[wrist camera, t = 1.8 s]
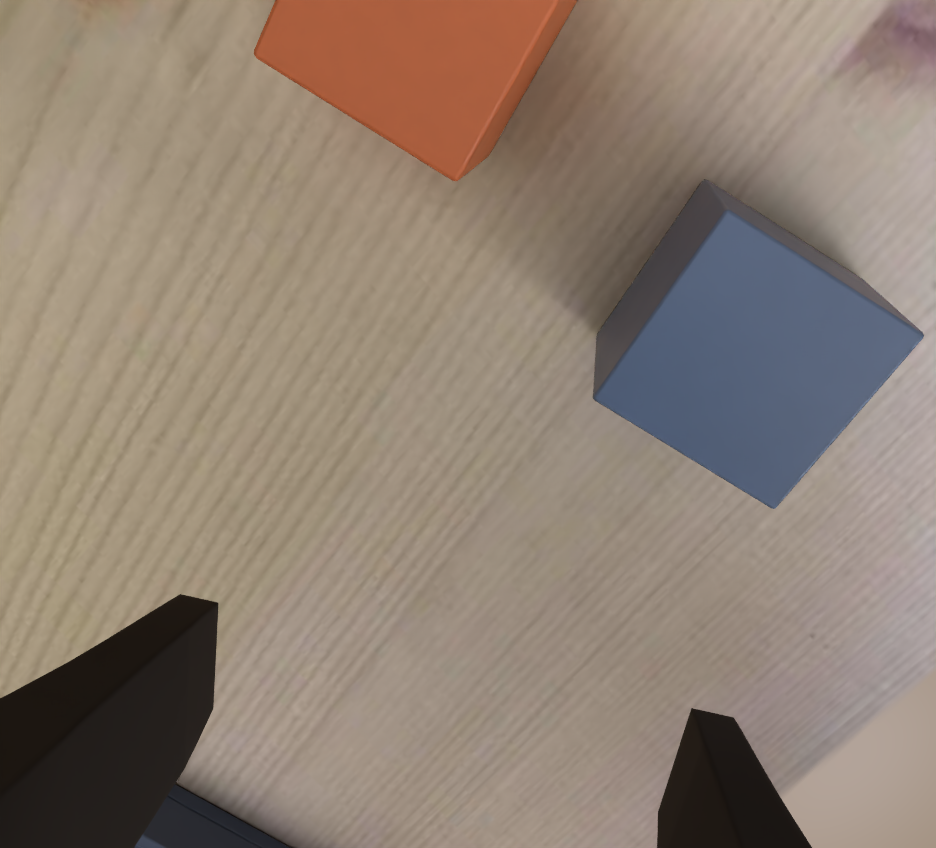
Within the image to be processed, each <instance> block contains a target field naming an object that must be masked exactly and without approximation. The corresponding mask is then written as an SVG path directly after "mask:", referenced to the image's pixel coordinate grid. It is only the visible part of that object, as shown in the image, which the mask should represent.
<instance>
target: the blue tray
mask: <svg viewBox="0 0 936 848" xmlns="http://www.w3.org/2000/svg"><path fill="white" fill-rule="evenodd" d="M134 848H290V847H288V846H286V845H284V844H282V843H281V842H279V841H277V840H275V839H273V838H272V837H270V836H268V835H266V834H264V833H263V832H261V831H259V830H257V829H255V828H254V827H252V826H250V825H248V824H246V823H244V822H243V821H241V820H239V819H237V818H235V817H234V816H232V815H230V814H228V813H226V812H225V811H223V810H221V809H219V808H217V807H215V806H214V805H212V804H210V803H208V802H206V801H205V800H203V799H201V798H199V797H197V796H196V795H194V794H192V793H190V792H188V791H186V790H185V789H183V788H181V787H179V786H177V785H176V784H175V785H174V786H173V788H172V789H171V791H170V792H169V794H168V796H167V797H166V799H165V800H164V802H163V803H162V805H161V807H160V808H159V810H158V811H157V813H156V815H155V816H154V818H153V819H152V821H151V822H150V824H149V825H148V827H147V828H146V830H145V832H144V833H143V835H142V836H141V838H140V839H139V841H138V842H137V844H136V846H135V847H134Z"/></svg>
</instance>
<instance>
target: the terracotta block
mask: <svg viewBox="0 0 936 848" xmlns="http://www.w3.org/2000/svg"><path fill="white" fill-rule="evenodd" d="M576 2H577V0H276V1H275V3H274V5H273V8H272V10H271V12H270V15H269V17H268V19H267V21H266V24H265V26H264V28H263V31H262V33H261V35H260V38H259V40H258V42H257V45H256V47H255V49H254V55H255V56H256V58H257V59H259V60H260V61H262V62H263V63H265V64H267V65H268V66H270V67H271V68H273V69H275V70H276V71H278V72H279V73H281V74H283V75H284V76H286V77H287V78H289V79H291V80H292V81H294V82H295V83H297V84H299V85H300V86H302V87H303V88H305V89H307V90H308V91H310V92H311V93H313V94H315V95H316V96H318V97H319V98H321V99H323V100H324V101H326V102H327V103H329V104H331V105H332V106H334V107H335V108H337V109H339V110H340V111H342V112H343V113H345V114H347V115H348V116H350V117H351V118H353V119H355V120H356V121H358V122H359V123H361V124H363V125H364V126H366V127H367V128H369V129H371V130H372V131H374V132H375V133H377V134H379V135H380V136H382V137H383V138H385V139H387V140H388V141H390V142H392V143H393V144H395V145H396V146H398V147H400V148H401V149H403V150H404V151H406V152H408V153H409V154H411V155H412V156H414V157H416V158H417V159H419V160H420V161H422V162H424V163H425V164H427V165H428V166H430V167H432V168H433V169H435V170H436V171H438V172H440V173H441V174H443V175H444V176H446V177H448V178H449V179H451V180H452V181H458V180H459V179H461V178H462V177H463V176H464V175H466V174H467V173H468V172H469V171H471V170H472V169H473V168H474V167H475V166H477V165H478V164H479V163H480V162H482V161H483V160H484V159H485V158H487V157H488V156H489V155H490V153H491V151H492V149H493V148H494V146H495V144H496V142H497V141H498V139H499V137H500V135H501V134H502V132H503V130H504V128H505V127H506V125H507V123H508V121H509V120H510V118H511V116H512V114H513V113H514V111H515V109H516V107H517V106H518V104H519V102H520V100H521V99H522V97H523V95H524V93H525V91H526V90H527V88H528V86H529V84H530V83H531V81H532V79H533V77H534V76H535V74H536V72H537V70H538V69H539V67H540V65H541V63H542V62H543V60H544V58H545V56H546V55H547V53H548V51H549V49H550V48H551V46H552V44H553V42H554V41H555V39H556V37H557V35H558V34H559V32H560V30H561V28H562V27H563V25H564V23H565V21H566V20H567V18H568V16H569V14H570V13H571V11H572V9H573V7H574V6H575V4H576Z"/></svg>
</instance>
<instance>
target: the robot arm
mask: <svg viewBox="0 0 936 848" xmlns="http://www.w3.org/2000/svg"><path fill="white" fill-rule="evenodd" d="M217 621H218V603H217V602H213V601H208V600H204V599H199V598H195V597H190V596H186V595H181V594H180V595H178V596H177V597H175V598H173V599H172V600H170V601H168V602H167V603H165V604H163V605H162V606H160V607H158V608H157V609H155V610H154V611H152V612H150V613H149V614H147V615H145V616H144V617H142V618H141V619H139V620H137V621H136V622H134V623H132V624H131V625H129V626H128V627H126V628H124V629H123V630H121V631H120V632H118V633H116V634H115V635H113V636H111V637H110V638H108V639H106V640H105V641H103V642H102V643H100V644H98V645H96V646H95V647H93V648H91V649H90V650H88V651H86V652H85V653H83V654H81V655H80V656H78V657H76V658H74V659H73V660H71V661H69V662H68V663H66V664H64V665H62V666H60V667H59V668H57V669H55V670H53V671H51V672H49V673H47V674H46V675H44V676H42V677H40V678H38V679H36V680H34V681H32V682H31V683H29V684H27V685H25V686H23V687H21V688H19V689H18V690H16V691H14V692H12V693H10V694H8V695H6V696H4V697H2V698H0V848H134V847H135V846H136V844H137V842H138V841H139V839H140V838H141V836H142V835H143V833H144V832H145V830H146V828H147V827H148V825H149V824H150V822H151V821H152V819H153V818H154V816H155V815H156V813H157V811H158V810H159V808H160V807H161V805H162V803H163V802H164V800H165V799H166V797H167V796H168V794H169V792H170V791H171V789H172V788H173V786H174V785H175V783H176V781H177V780H178V778H179V777H180V775H181V773H182V772H183V770H184V768H185V767H186V764H187V762H188V760H189V758H190V756H191V754H192V752H193V750H194V748H195V746H196V744H197V742H198V740H199V738H200V736H201V734H202V731H203V729H204V727H205V725H206V723H207V721H208V719H209V716H210V714H211V712H212V710H213V702H214V682H215V662H216V641H217ZM657 848H812V847H811V845H810V844H809V842H808V841H807V839H806V837H805V836H804V834H803V833H802V831H801V830H800V828H799V827H798V825H797V824H796V822H795V820H794V819H793V817H792V815H791V814H790V812H789V811H788V809H787V807H786V806H785V804H784V803H783V801H782V799H781V798H780V796H779V794H778V793H777V791H776V789H775V788H774V786H773V784H772V782H771V781H770V779H769V777H768V776H767V774H766V772H765V771H764V769H763V767H762V765H761V764H760V762H759V760H758V758H757V757H756V755H755V753H754V751H753V750H752V748H751V746H750V744H749V743H748V741H747V739H746V737H745V736H744V734H743V732H742V730H741V729H740V727H739V725H738V724H737V722H736V721H735V719H734V718H733V717H729V716H724V715H720V714H715V713H711V712H706V711H702V710H697V709H693V708H691V712H690V715H689V718H688V721H687V724H686V727H685V730H684V733H683V736H682V739H681V743H680V746H679V749H678V752H677V755H676V758H675V761H674V764H673V767H672V771H671V774H670V777H669V780H668V783H667V786H666V789H665V792H664V795H663V798H662V802H661V805H660V808H659V811H658V838H657Z"/></svg>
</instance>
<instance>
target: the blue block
mask: <svg viewBox="0 0 936 848" xmlns="http://www.w3.org/2000/svg"><path fill="white" fill-rule="evenodd" d="M923 337H924V334H923V333H922V332H921V331H920V330H919V329H918V328H917V327H916V326H915V325H914V324H912V323H911V322H910V321H909V320H908V319H907V318H906V317H905V316H903V315H902V314H901V313H900V312H899V311H898V310H897V309H896V308H894V307H893V306H892V305H891V304H890V303H889V302H888V301H887V300H885V299H884V298H883V297H882V296H881V295H880V294H879V293H878V292H876V291H875V290H874V289H873V288H872V287H871V286H870V285H869V284H868V283H866V282H865V281H864V280H863V279H861V278H860V277H858V276H857V275H855V274H854V273H852V272H850V271H849V270H847V269H846V268H844V267H843V266H841V265H840V264H838V263H836V262H835V261H833V260H832V259H830V258H829V257H827V256H825V255H824V254H822V253H821V252H819V251H818V250H816V249H815V248H813V247H811V246H810V245H808V244H807V243H805V242H804V241H802V240H800V239H799V238H797V237H796V236H794V235H793V234H791V233H790V232H788V231H786V230H785V229H783V228H782V227H780V226H779V225H777V224H775V223H774V222H772V221H771V220H769V219H768V218H766V217H765V216H763V215H761V214H760V213H758V212H757V211H755V210H754V209H752V208H750V207H749V206H747V205H746V204H744V203H743V202H741V201H740V200H738V199H736V198H735V197H733V196H732V195H730V194H729V193H727V192H725V191H724V190H722V189H721V188H719V187H718V186H716V185H715V184H713V183H711V182H710V181H708V180H705V179H704V180H703V181H702V182H701V183H700V185H699V186H698V188H697V189H696V191H695V192H694V194H693V195H692V197H691V198H690V199H689V201H688V202H687V204H686V205H685V207H684V208H683V210H682V211H681V213H680V214H679V216H678V217H677V218H676V220H675V221H674V223H673V224H672V226H671V227H670V229H669V230H668V232H667V233H666V235H665V236H664V237H663V239H662V240H661V242H660V243H659V245H658V246H657V248H656V249H655V251H654V252H653V253H652V255H651V256H650V258H649V259H648V261H647V262H646V264H645V265H644V267H643V268H642V270H641V271H640V272H639V274H638V275H637V277H636V278H635V280H634V281H633V283H632V284H631V286H630V287H629V289H628V290H627V291H626V293H625V294H624V296H623V297H622V299H621V300H620V302H619V303H618V305H617V306H616V307H615V309H614V310H613V312H612V313H611V315H610V316H609V318H608V319H607V321H606V322H605V324H604V325H603V326H602V328H601V329H600V331H599V332H598V334H597V337H596V354H595V372H594V389H593V399H594V400H595V401H597V402H598V403H600V404H602V405H603V406H605V407H607V408H608V409H610V410H612V411H613V412H615V413H616V414H618V415H620V416H621V417H623V418H625V419H626V420H628V421H629V422H631V423H633V424H634V425H636V426H638V427H639V428H641V429H643V430H644V431H646V432H647V433H649V434H651V435H652V436H654V437H656V438H657V439H659V440H661V441H662V442H664V443H665V444H667V445H669V446H670V447H672V448H674V449H675V450H677V451H679V452H680V453H682V454H683V455H685V456H687V457H688V458H690V459H692V460H693V461H695V462H697V463H698V464H700V465H701V466H703V467H705V468H706V469H708V470H710V471H711V472H713V473H715V474H716V475H718V476H719V477H721V478H723V479H724V480H726V481H728V482H729V483H731V484H733V485H734V486H736V487H737V488H739V489H741V490H742V491H744V492H746V493H747V494H749V495H750V496H752V497H754V498H755V499H757V500H759V501H760V502H762V503H764V504H765V505H767V506H768V507H770V508H773V509H775V508H776V507H777V506H778V505H779V504H780V503H781V501H782V500H783V499H784V498H785V497H786V496H787V494H788V493H789V492H790V491H791V490H792V489H793V488H794V486H795V485H796V484H797V483H798V482H799V481H800V479H801V478H802V477H803V476H804V475H805V474H806V473H807V471H808V470H809V469H810V468H811V467H812V466H813V464H814V463H815V462H816V461H817V460H818V459H819V458H820V456H821V455H822V454H823V453H824V452H825V451H826V449H827V448H828V447H829V446H830V445H831V444H832V443H833V441H834V440H835V439H836V438H837V437H838V436H839V434H840V433H841V432H842V431H843V430H844V429H845V428H846V426H847V425H848V424H849V423H850V422H851V421H852V419H853V418H854V417H855V416H856V415H857V414H858V412H859V411H860V410H861V409H862V408H863V407H864V406H865V404H866V403H867V402H868V401H869V400H870V399H871V397H872V396H873V395H874V394H875V393H876V392H877V391H878V389H879V388H880V387H881V386H882V385H883V384H884V382H885V381H886V380H887V379H888V378H889V377H890V376H891V374H892V373H893V372H894V371H895V370H896V369H897V367H898V366H899V365H900V364H901V363H902V362H903V361H904V359H905V358H906V357H907V356H908V355H909V354H910V352H911V351H912V350H913V349H914V348H915V347H916V346H917V344H918V343H919V342H920V341H921V340H922V339H923Z"/></svg>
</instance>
